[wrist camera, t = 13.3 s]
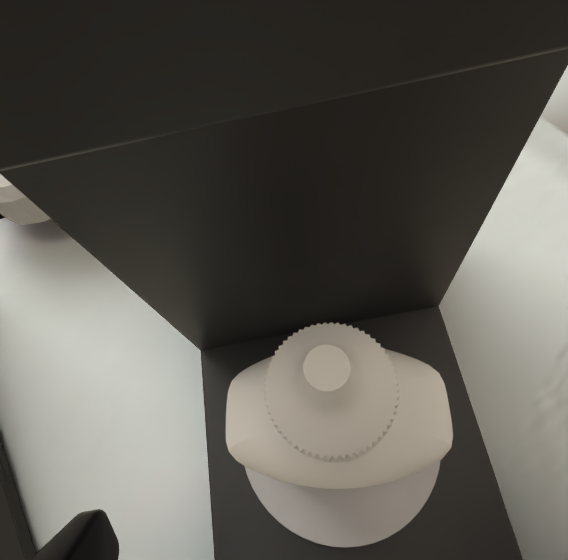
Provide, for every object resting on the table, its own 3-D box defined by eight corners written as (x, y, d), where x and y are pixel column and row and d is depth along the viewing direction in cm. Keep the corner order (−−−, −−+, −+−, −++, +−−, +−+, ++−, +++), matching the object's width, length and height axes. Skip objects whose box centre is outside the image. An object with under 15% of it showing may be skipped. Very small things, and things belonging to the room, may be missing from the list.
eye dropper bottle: (301, 358, 19) (240, 193, 8) (427, 420, 17) (570, 319, 6) (252, 453, 17) (94, 412, 6) (383, 531, 16) (468, 654, 5)
